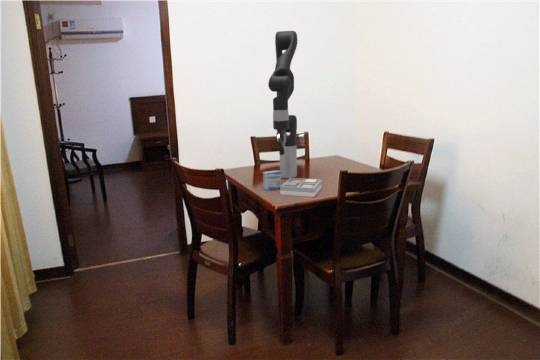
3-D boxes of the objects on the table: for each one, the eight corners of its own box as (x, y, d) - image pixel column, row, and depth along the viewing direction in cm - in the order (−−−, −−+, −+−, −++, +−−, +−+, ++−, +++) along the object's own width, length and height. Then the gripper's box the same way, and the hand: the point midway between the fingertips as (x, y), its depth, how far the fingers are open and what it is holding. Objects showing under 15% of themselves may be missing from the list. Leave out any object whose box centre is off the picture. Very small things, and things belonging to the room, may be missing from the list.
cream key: (307, 182, 196) (307, 178, 195) (317, 182, 194) (317, 179, 194) (304, 184, 191) (304, 181, 191) (314, 185, 190) (314, 182, 189)
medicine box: (266, 190, 194) (266, 173, 191) (263, 188, 198) (262, 171, 195) (281, 188, 197) (281, 171, 194) (277, 186, 201) (277, 169, 198)
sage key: (303, 187, 189) (303, 184, 189) (313, 188, 188) (313, 185, 187) (300, 190, 185) (300, 187, 184) (311, 191, 183) (311, 187, 183)
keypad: (290, 185, 201) (290, 178, 200) (321, 187, 196) (321, 179, 195) (280, 194, 187) (280, 186, 186) (314, 197, 181) (314, 188, 180)
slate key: (288, 185, 191) (288, 181, 191) (298, 185, 190) (298, 182, 189) (285, 188, 187) (284, 184, 186) (295, 188, 185) (295, 185, 185)
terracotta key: (292, 183, 198) (292, 179, 198) (302, 183, 197) (302, 180, 196) (289, 185, 194) (289, 182, 193) (299, 186, 192) (299, 182, 192)
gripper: (277, 117, 200) (278, 151, 204) (269, 120, 188) (270, 157, 192) (292, 117, 197) (292, 152, 202) (284, 121, 185) (285, 157, 190)
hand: (281, 154), depth 197 cm, fingers closed
